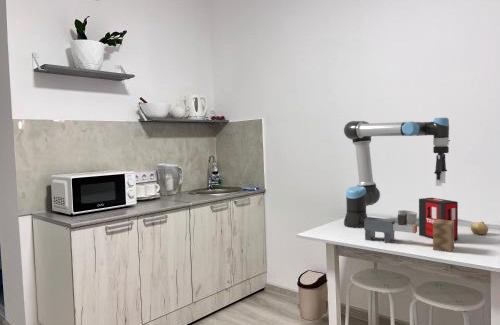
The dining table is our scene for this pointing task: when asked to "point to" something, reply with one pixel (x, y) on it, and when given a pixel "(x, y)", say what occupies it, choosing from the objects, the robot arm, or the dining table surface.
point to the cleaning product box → (436, 215)
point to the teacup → (409, 216)
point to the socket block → (443, 235)
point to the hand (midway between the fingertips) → (440, 184)
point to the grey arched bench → (379, 228)
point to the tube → (403, 225)
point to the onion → (479, 228)
